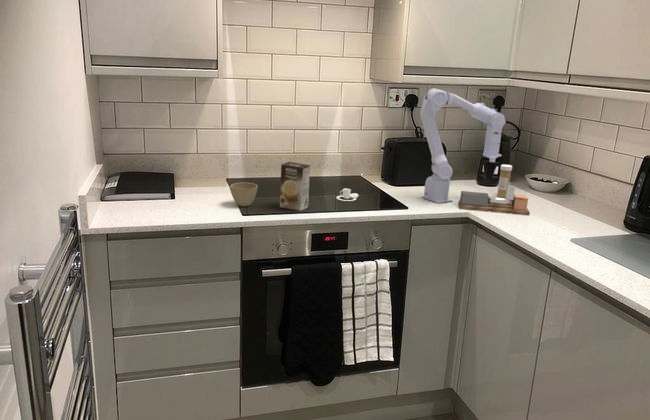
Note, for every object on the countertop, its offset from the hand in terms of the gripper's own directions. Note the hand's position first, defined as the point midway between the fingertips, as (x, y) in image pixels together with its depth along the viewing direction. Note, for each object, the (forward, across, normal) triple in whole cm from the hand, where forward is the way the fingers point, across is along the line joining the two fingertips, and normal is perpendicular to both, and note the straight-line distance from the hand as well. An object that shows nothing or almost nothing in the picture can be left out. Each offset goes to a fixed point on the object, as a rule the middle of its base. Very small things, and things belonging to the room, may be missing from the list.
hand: (487, 176), depth 214 cm
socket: (+9, -11, -12) cm, 18 cm away
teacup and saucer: (+11, -16, +52) cm, 55 cm away
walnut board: (+10, -11, -2) cm, 15 cm away
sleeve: (+9, -11, +5) cm, 15 cm away
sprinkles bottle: (+11, +11, -8) cm, 18 cm away
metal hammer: (+8, -11, -5) cm, 14 cm away
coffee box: (+11, -33, +71) cm, 79 cm away
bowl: (+11, -36, +90) cm, 97 cm away
